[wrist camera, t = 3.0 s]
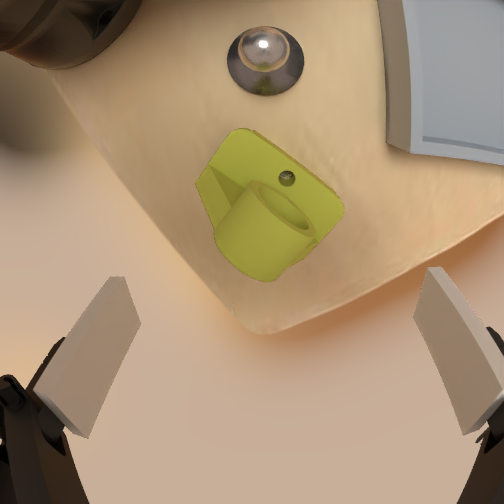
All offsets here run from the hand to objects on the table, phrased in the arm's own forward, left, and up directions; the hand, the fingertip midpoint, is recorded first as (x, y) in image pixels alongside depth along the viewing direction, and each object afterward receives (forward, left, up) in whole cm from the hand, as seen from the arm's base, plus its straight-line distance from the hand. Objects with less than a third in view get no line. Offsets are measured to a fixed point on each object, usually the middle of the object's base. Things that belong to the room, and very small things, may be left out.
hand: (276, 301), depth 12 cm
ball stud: (0, +11, -15) cm, 19 cm away
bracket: (0, 0, -16) cm, 16 cm away
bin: (+20, +14, -15) cm, 29 cm away
